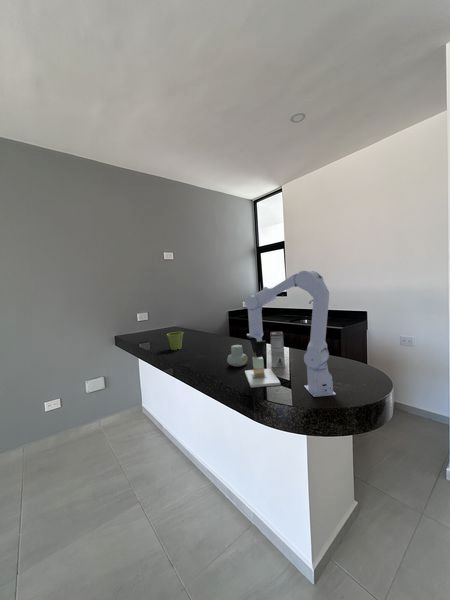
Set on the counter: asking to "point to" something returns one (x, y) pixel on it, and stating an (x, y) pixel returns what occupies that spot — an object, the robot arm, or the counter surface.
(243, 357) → the air freshener
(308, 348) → the robot arm
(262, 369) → the maple block
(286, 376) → the counter surface
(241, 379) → the counter surface
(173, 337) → the plant pot
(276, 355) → the coffee box
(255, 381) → the plate
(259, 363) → the sage block
